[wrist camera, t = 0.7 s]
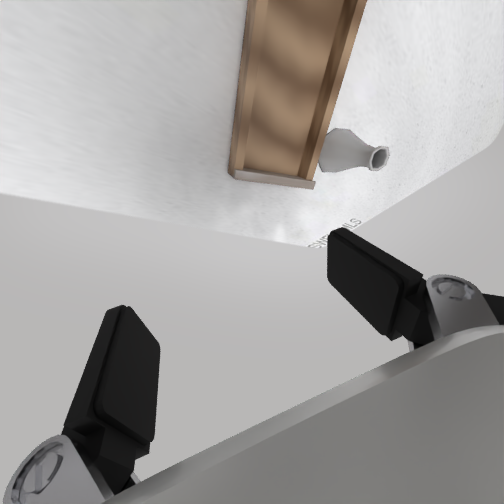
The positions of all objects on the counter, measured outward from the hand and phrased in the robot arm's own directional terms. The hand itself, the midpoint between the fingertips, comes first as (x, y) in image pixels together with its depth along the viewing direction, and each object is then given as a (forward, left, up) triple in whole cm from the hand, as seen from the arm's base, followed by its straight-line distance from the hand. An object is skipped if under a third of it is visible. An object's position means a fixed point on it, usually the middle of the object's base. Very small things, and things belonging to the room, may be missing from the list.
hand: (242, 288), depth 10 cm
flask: (-7, +23, -27) cm, 37 cm away
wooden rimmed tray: (-15, +11, -27) cm, 33 cm away
